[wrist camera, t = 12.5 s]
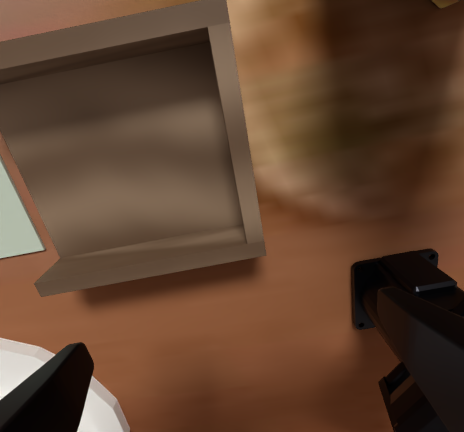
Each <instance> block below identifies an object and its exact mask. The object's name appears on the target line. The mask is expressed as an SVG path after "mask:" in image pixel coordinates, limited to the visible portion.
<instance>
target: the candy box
mask: <svg viewBox="0 0 464 432" xmlns="http://www.w3.org/2000/svg"><path fill="white" fill-rule="evenodd" d="M431 1H432V2H434V3H435V4H436V5H437V6H438V7H439V8H444V7H447V6H449V5H451V4H453V3H456V2H458V1H460V0H431Z"/></svg>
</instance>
